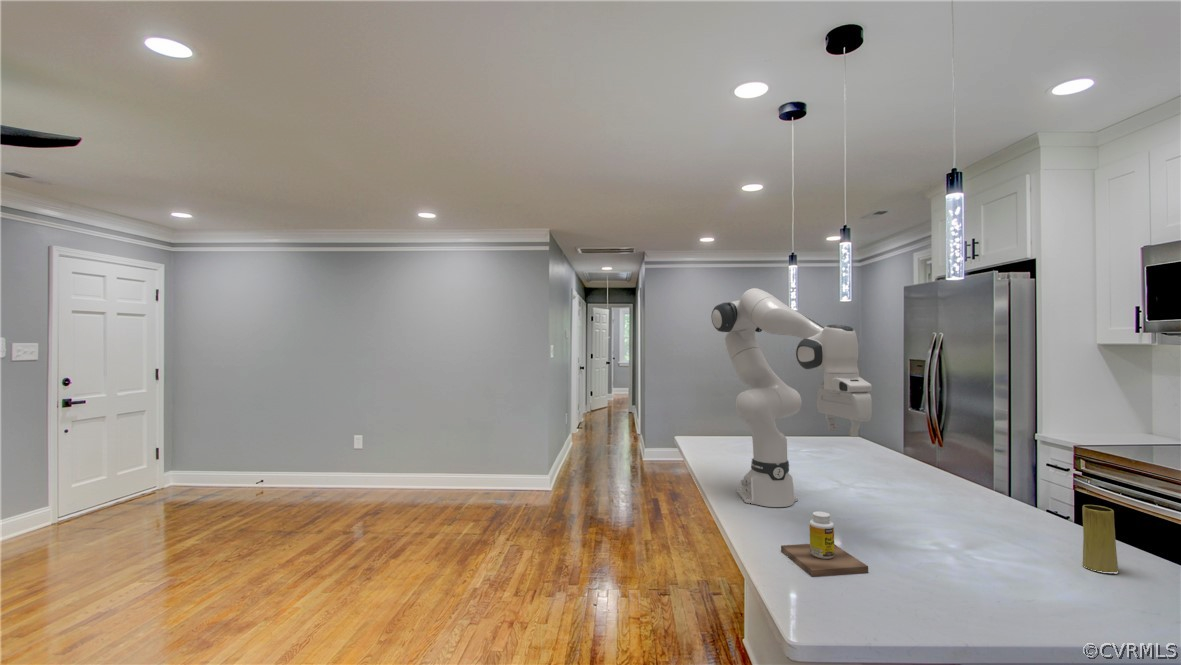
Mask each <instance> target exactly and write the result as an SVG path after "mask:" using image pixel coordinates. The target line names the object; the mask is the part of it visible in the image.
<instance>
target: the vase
mask: <svg viewBox="0 0 1181 665" xmlns="http://www.w3.org/2000/svg"><path fill="white" fill-rule="evenodd" d="M1081 507H1082V508H1081V510H1082V534H1083V536H1082V538H1083V543H1082V564H1083V565H1082V564H1081V565H1082V566H1083V567H1084V566H1085V567H1087V568H1089V569H1092V570H1096V571H1102V572H1117V571H1119V572H1120V570H1119V565H1118V563H1119V562H1118V554H1117V553H1118V552H1117V542H1116V528H1115V511H1114V509H1112V508H1109V507H1106V506H1102V505H1095V504H1083V505H1082V506H1081ZM1085 567H1084V568H1085Z"/></svg>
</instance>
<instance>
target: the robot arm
mask: <svg viewBox="0 0 1181 665" xmlns="http://www.w3.org/2000/svg"><path fill="white" fill-rule="evenodd" d="M711 323H712V325H713V328H715V329H716V330H717V331H718V332H720V333H727V334H726V335H725V337H724V341H725V346H726V350H727V354H728V356H729V358H730V360H731V363H732V366H733V367H734V370H735V372H736V374H737V376H738V378H739V380H740V381H741V382H742V383H743V384H745V385H748V386H749V387H750V389H747V390H746V389H745V390H743V391H741V392H740V393H738V395H737V396H736V399H735V403H734V404H735V410H736V413H737V415H738V416H739V417H740V418H741V419H743V421H745V422H746V424H747V426H748V429H749V431H750V433H751V437H752V438H751V439H752V440H751V441H752V456H753V458H751V463H750V465H751V466H750V469H749V471H748V472H747V473H746V474H745V475H743V478H742V479H741V481H740V484H741V486H742V487H738V488H736V492H737V491H738V492H737V494H738V493H739V494H740V495H739V494H738V495H739V496H740V498H741V497H742V498H741V500H744V501H743V502H744V503H745V502H746V503H745V504H750V503H751V504H752V505H757V506H762V507H768V508H769V507H770V508H784V507H785V508H786V507H790V506H793V505H794V504H795V502H798V501H799V499H798V496H796V495H795V489H794V488H795V487H794V480H793V476H792V475H791V474H790V473H789V472H790V462H789V460H788V441H787V437H786V435H785V434H784V433H782V432H781V431H780V430H779V429H778V427H777V423H776V419H777V420H778V419H786V418H790V417H792V416H794V415H796V414H798V413H799V412H800V410H801V409H802V404H803V403H802V402H803V401H802V397H801V395H800V393H799V391H797V390H796V389H795V388H793V387H792V386H789V385H787V383H786V382H784V381H783V380H782V379H781V378H780V377H779V376H778V375H777V374H776V373H775V372H774V371H773V369H772V368H771V366H770V365H769V363H768V361H767V359H766V357H765V356H764V353H763V351H762V350H761V348H760V345H759V343H758V342H757V340H756V337H755V333H761V332H762V331H764V332H765V333H768V334H771V335H779V336H789V337H791V336H792V337H796V338H800V339H802V340H800V342H798V344H797V347H796V350H795V357H796V361H797V362H798V365H800V367H802V368H803V369H804V370H809V371H823V381H822V382H821V384H820V385H819V388H818V389H817V392H816V394H817V396H816V410H817V412H818V413H819V414H824V415H825V417H824V418H825V420H826V422H827V424H828V425H827V426H828V431H830V432H837V431H838V424H836V421H835V418H836V417H837V418H842V419H846V420H850V421H849V422H850V424H851V427H850V429H848V436H849V437H853V438H858V437H859V429H860V428H861V425H862V422H869V421H871V419H872V416H873V400H872V395H871V394H870V393H871V392H872V390H873V387H872V383H870V382H868V381H867V380H865V379H863V378H862V377H861V376H860V370H859V368H858V360H859V341H858V336H857V332H856V331H855V329H854V328H853V327H851V326H849V325H843V324H842V325H841V324H828V325H826V326H823V325H821V324H819V323H817V322H816V321H815V320H813V319H811V318H809V317H807V316H805V315H804V314H801V313H800V312H799V311H796V310H794V309H793V308H791V307H789V306H788V305H787V304H786V303H784V302H782V301H781V300H780V299H778V298H777V297H776V296H774V295H772V293H770V292H767V291H766V290H764V289H760V288H757V287H753V288H750V289H747V290H746V291H744V293H743V294H742V295H741V297H740V299H738V300H733V301H729V302H723V303H719V304H717V305H715V306H714V308H713V309H712V310H711Z"/></svg>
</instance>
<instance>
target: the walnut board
mask: <svg viewBox="0 0 1181 665" xmlns="http://www.w3.org/2000/svg"><path fill="white" fill-rule="evenodd" d="M780 552H781V553H782V554H784V555H785V556H788V557H787V558H789V559H790V560H791V561H792V560H793V561H792V562H793V563H795V564H796V565H797V566H799V567H800V568H801V569H802V570H803V571H804V572H806V573H807V574H808V575H810V576H811V577H814V578H815V577H828V576H841V575H842V576H843V575H856V574H857V575H858V574H868V573H869V566H868V565H867V564H866V563H864V562H862V561H861V560H860V559H858V558H856V557H854V556H853V555H852V554H850V553H848V552H847V551H846V550H844V549H843V548H840V546H838V545H837V544H835V543H834V557H833V558H830V559H822V558H817V557H815V556H813V555H812V554H811V552H810V543H801V544H799V543H798V544H787V545H786V544H784V545H780Z"/></svg>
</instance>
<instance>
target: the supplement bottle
mask: <svg viewBox="0 0 1181 665" xmlns="http://www.w3.org/2000/svg"><path fill="white" fill-rule="evenodd" d="M834 525H835V524H834V522H832V521H831V514H830V513H829V512H825V511H813V512H812V519H810V521H809V544H810V552H811V554H812V555H813V556H815V557H817V558H822V559H830V558H833V557H834V544H835V526H834Z"/></svg>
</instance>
